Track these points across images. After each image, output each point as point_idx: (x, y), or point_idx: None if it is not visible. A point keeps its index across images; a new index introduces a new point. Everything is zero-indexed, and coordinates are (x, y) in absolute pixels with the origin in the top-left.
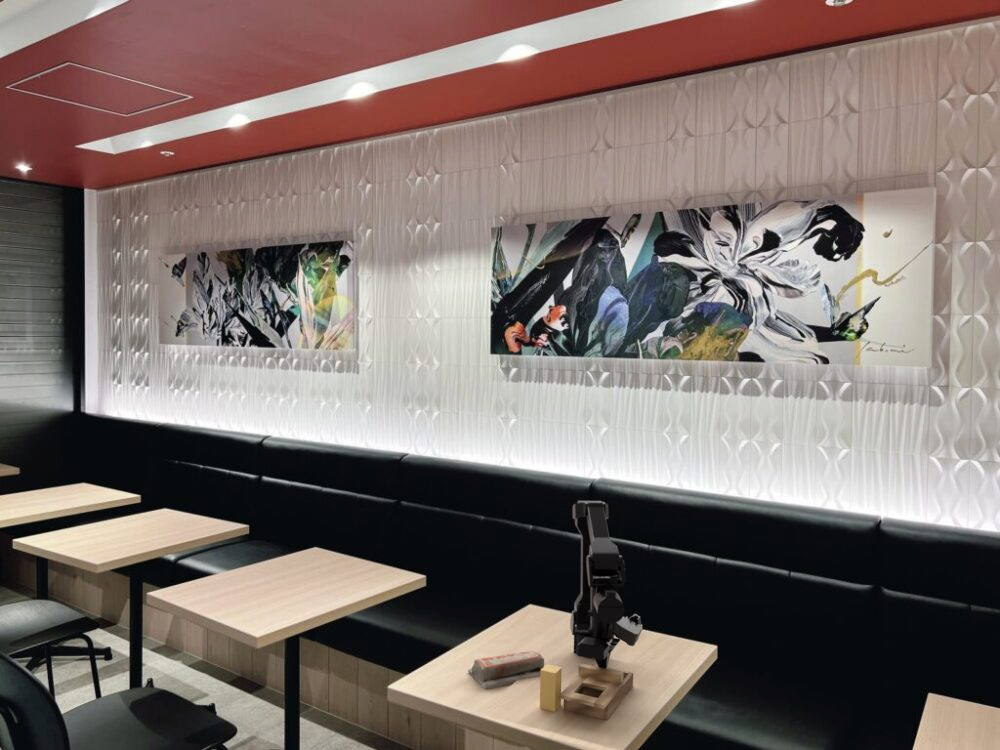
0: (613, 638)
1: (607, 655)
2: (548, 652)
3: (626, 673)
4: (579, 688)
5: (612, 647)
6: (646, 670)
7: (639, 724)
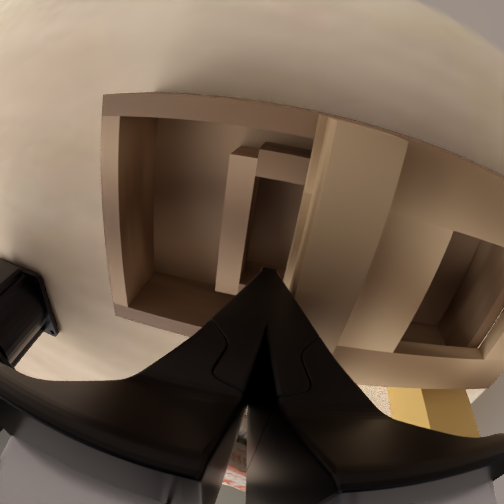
0: (35, 462)
1: (348, 392)
2: (74, 373)
3: (120, 131)
4: (426, 347)
5: (427, 491)
6: (7, 106)
7: (482, 47)
